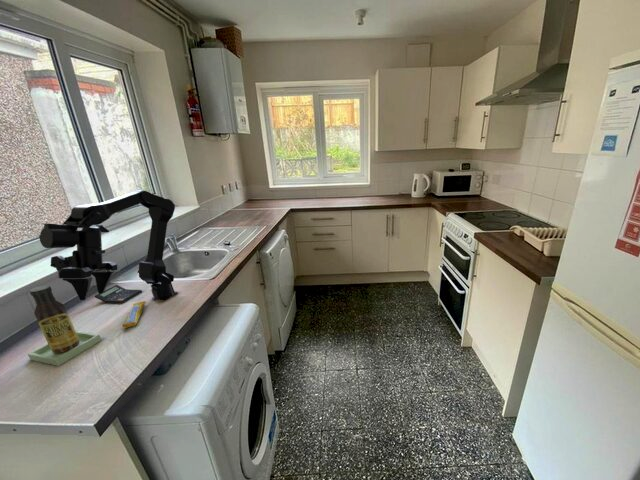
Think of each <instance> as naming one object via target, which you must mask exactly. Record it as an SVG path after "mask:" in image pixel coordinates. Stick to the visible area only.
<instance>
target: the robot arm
mask: <svg viewBox="0 0 640 480" xmlns="http://www.w3.org/2000/svg"><path fill="white" fill-rule="evenodd" d="M137 205H141V206H143V207H144V208H146V209H148V214H149V217H150V220H151V227H150V233H149V240H148V248H147V256H146V258H145V260H144V261H139V263H138V270H137V274H138V277H139V279H140V280H141V281H143V282H145V283H146V284H147V285H150V288H151V290H150V291H151V294H152V296H153V297H152V300H155V301H163V302H164V301H165V302H166V301H167V300H169V299H171V298H172V297H174V296H176V295H177V294H179V293H178V291H175V290H174V287H173V282H174V281H175V275H173V274H171V273H169V272H167V266H166V264H165V261H164V260H163V259H164V253H165V244H166V237H167V236H166V235H167V230H168V228H167V227H168V223H169V221H170V220H171V219H172V218H173V216H174V213H175V209H176V205H175V203H174V202H173V200H171V199H170V198H164V197H162V196H159V195H156V194H153V193H152V192H149V191H147V190H145V189H144V190H143V189H142V190H141V189H140V190H139V189H138V190H136V189H135V190H133V191H132V192H128V193H126V194H123V195H121V196H118V197H115V198H111V199H108V200H105V201H102V202H96V203H87V204H80V205H76V206H74V207H72V208H71V211H70V215H69V216H68V217H67V218H66V219H65V220H64V221H63V223H62V224H57V223H43V228H42V229H41V231H40V234H39V236H38V237H39V242H40V244H41V246H42V247H43V248H45V249H61V248H62V249H64V248H65V249H67V248H74V247H75V246H76V250H73V251H72V252H71V254H72V255H70V256H65V257H64V256H63V255H55V256H51V257H50V267H52V268H55V269H56V272H57V274H58V275H57V277H58V279H62V281H64V282H67V283H69V284H71V286H72V288H73V289H74V291H75V293H76V295H77V296H78V298H79V300H80V301H86V299H87V297H88V294H89V291H90V287H91V285H92V281H93V277H94V279H95V284H96V290H97V293H98V294H102V293H103V292H104V291H105V290H106V288H107V287H108V285H109V282H110V281H111V279H112V278H113V277H114V274H115V273H116V271H118V263H116V262H115V261H104V260H103V254H105V253H106V249H103V244H102V243H103V242H102V241H103V240H102V233H109V232H110V230H109V229H108V228H106V227H105V226H104V222H106V221H107V220H109V219H110V218H111V217H112V216H113V215H115V214H117V213H119V212H121V211H125V210H127V209H129V208H132V207H135V206H137ZM102 223H103V224H102ZM92 276H93V277H92Z"/></svg>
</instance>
